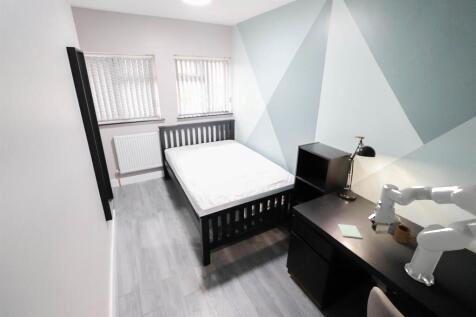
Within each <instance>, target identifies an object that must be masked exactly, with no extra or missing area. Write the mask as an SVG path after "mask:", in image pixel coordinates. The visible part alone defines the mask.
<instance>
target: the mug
mask: <svg viewBox="0 0 476 317" xmlns="http://www.w3.org/2000/svg"><path fill="white" fill-rule="evenodd" d="M393 234H394V235H393V239H394V240H395V242H398V243H400V244H403V245H404V244H407V243H408V241H409V242H411V243H414V242H417V235H415V234H413V233H412V229H411V228H410V227H408V226H406V225H405V226H404V225H402V224H399V225H398V226H397V228H396V231H395V233H393ZM411 237H412V238H411Z"/></svg>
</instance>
